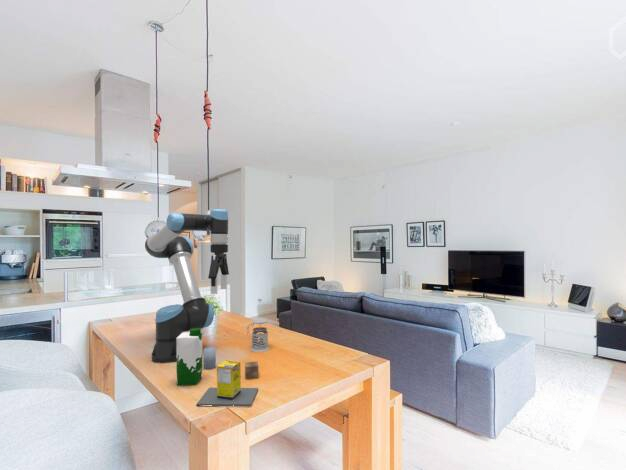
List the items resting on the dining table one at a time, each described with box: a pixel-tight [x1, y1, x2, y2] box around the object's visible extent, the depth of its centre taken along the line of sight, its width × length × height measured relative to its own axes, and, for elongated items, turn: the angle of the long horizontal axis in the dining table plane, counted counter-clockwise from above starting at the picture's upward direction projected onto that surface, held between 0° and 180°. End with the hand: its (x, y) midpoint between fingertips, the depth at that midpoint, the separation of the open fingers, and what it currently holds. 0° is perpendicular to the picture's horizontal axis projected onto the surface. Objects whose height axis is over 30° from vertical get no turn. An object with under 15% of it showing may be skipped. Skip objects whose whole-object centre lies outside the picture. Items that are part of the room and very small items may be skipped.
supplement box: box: [216, 359, 242, 400], centre depth 115 cm, size 6×6×11 cm
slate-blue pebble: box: [202, 346, 217, 371], centre depth 142 cm, size 5×5×8 cm
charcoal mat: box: [196, 387, 259, 407], centre depth 115 cm, size 18×12×1 cm, turn 88°
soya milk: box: [176, 328, 203, 386], centre depth 128 cm, size 9×9×20 cm
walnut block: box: [244, 361, 259, 381], centre depth 133 cm, size 5×5×5 cm
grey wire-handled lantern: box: [246, 298, 270, 353], centre depth 167 cm, size 10×12×25 cm
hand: (219, 291), depth 149 cm, fingers open, 13 cm apart
